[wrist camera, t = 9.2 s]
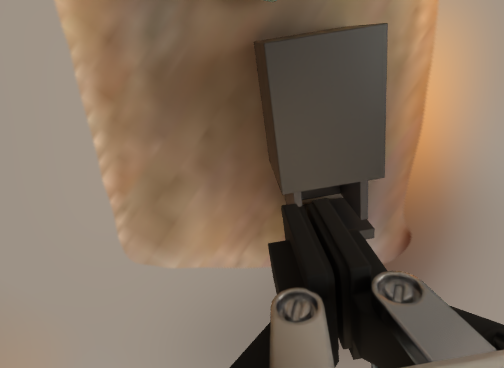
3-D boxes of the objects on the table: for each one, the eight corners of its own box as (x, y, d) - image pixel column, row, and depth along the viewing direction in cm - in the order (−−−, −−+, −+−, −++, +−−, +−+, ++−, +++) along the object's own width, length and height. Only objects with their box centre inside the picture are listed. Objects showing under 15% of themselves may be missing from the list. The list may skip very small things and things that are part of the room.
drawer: (350, 236, 44) (374, 274, 37) (286, 247, 44) (298, 287, 37) (346, 108, 37) (375, 124, 30) (270, 121, 37) (281, 140, 30)
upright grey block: (350, 147, 40) (384, 177, 31) (269, 161, 40) (282, 195, 31) (347, 26, 35) (387, 22, 26) (253, 41, 34) (263, 43, 26)
